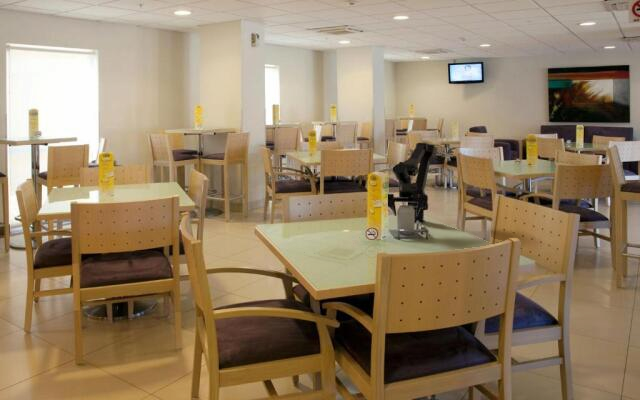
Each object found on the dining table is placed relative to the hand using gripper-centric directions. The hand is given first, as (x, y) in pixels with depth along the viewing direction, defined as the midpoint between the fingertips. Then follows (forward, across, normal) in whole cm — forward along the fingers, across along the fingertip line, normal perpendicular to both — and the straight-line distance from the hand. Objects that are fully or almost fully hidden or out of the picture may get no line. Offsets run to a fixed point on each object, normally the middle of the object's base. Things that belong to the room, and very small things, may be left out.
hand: (406, 216), depth 240 cm
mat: (+5, 0, +7) cm, 9 cm away
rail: (+4, +1, +8) cm, 9 cm away
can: (+5, 0, +7) cm, 8 cm away
